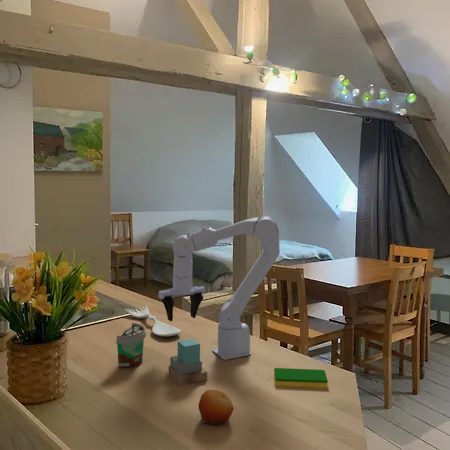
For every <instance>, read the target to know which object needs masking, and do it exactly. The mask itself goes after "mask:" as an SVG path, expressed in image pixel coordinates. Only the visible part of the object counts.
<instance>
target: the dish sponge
mask: <svg viewBox="0 0 450 450" xmlns="http://www.w3.org/2000/svg"><path fill="white" fill-rule="evenodd" d="M273 370H274V371H273V377H274V385H275V386H276V387H292V388H293V387H296V388H318V389H327V388H328V384H329V380H328V376H327V373H326V370H325V369H314V368H313V369H312V368H311V369H309V368H308V369H307V368H289V367H288V368H286V367H275V368H274V369H273Z"/></svg>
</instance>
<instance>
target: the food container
mask: <svg viewBox="0 0 450 450" xmlns="http://www.w3.org/2000/svg"><path fill="white" fill-rule="evenodd" d="M146 337H147V333H146V329H145V327H144V325H142V324H140V323H135V322H132V323H131V326H130V327H129V328H128V329H126V330H124V332H123V333H122V334H121V335H116V340H115V341H116V342H115V343H116V345H117V362H118V369H119V370H124V369H133V368H137V367H138V366H140V365H142V364H143V355H144V344H145V343H144V342H145V338H146Z"/></svg>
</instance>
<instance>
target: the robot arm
mask: <svg viewBox="0 0 450 450" xmlns="http://www.w3.org/2000/svg"><path fill="white" fill-rule="evenodd" d="M279 232H280V230H279V227H278V224H277V222H276V219H274V218H273V217H272V216H270V215H262V216H260V217H252V218H248V219H244V220H241V221H238V222H235V223H233V224H232V223H231V224H229V225H227V226H224V227H221V228H218V229H214V228H212V227H207V226H203V227H202V228H201V230H197V231H195V232H191V231H188V232H187V233H186V234H181V235H180V236H178V237H177V238H176V239H175V240H174V241H173V243H172V246H171V247H172V251H173V270H172V273H173V274H172V287H171V288H168V289H167V288H166V289H163V290H159V291H158V298H159V299H160V300H161V302H162V305H164V309H165V312H166V316H167V317H166V318H167V320H168V321H169V322H173V319H174V307H175V306H174V305H175V301H174V300H173V298H175V297H182V296H183V297H184V296H189V300H190V317H191V318H192V319H196V317H197V313H198V309H199V307H200V306H201V303H202V302H203V300H204V295H206V288H205V287H204V286H202V285H201V286H193V266H194V265H193V261H194V260H193V252H194V253H195V252H200V251H203V250H206V249H209V248H212V247H216V246H217V244H218V242H219V241H220V240H221V241H222V240H225V239H229V238H233V237H235V236H239V235H243V234H244V235H247V236H250V237H254V235H255V236H256V237H257V240H258V241H259V243H260V245H261V249H262V252H261V253H260V254H259V256H258V258H257V259H256V260H255V262H254V264H253V265H252V266H251V268H250V270H249V271H248V272H247V274H246V275H245V277H244V278H243V280H242V282H241V283H240V285H239V286H238V288H237V289H236V290H235V292H234V293H233V294H232V296H231V297H230V298H229V299H228V300H225V302H224V303H222V305H221V308H220V312H219V315H218V317H217V318H218V324H217V325H218V326H217V348H213V349H212V350H211V351H212V352H213V353H215V354H216V355H217V356H218V357H220V359H222V360H225V361H227V360H231V359H236V358H242V357H246V356H250V355H252V352H251V330H250V327H249V326H248V324H247V323H245V322H244V323H243V322H242V321H241V320H240V319H241V316H242V314H243V312H244V310H245V308H246V306H247V304H248V302H249V301H250V300H251V298H252V297H253V295H254V293H255V292H256V290H257V289H258V287H259V286H260V284H261V283H262V282H263V280H264V278H265V277H266V276H267V274H268V272H269V271H270V269H271V268H272V266H273V265H274V264H275V262H276V261H277V259H278V257H279V256H280V233H279Z"/></svg>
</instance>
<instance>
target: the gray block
mask: <svg viewBox="0 0 450 450" xmlns="http://www.w3.org/2000/svg"><path fill="white" fill-rule="evenodd" d="M169 361H170V362H169V363H170V365H169V366H171V367H172V368H173V369H174V370H175V371H176V372H177V373H178V374H179V375H182V374H186V373H191V372H196V371H201V370H202V368H203V361H202V360H201V359H200V361H199V362H195V363H190V364H186V365H185V364H184V363H182V362H181V361H180V360H179V359H178V355H174V356H171V357H170V359H169Z"/></svg>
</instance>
